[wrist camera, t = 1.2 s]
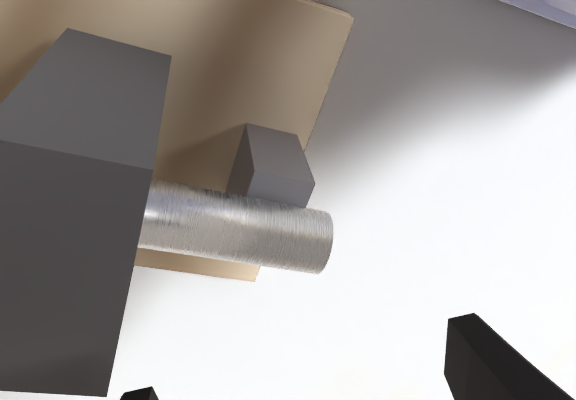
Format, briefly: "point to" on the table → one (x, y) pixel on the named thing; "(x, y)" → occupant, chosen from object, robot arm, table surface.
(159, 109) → the tall grey prism
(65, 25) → the pipe rig
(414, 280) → the table surface
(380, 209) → the table surface
